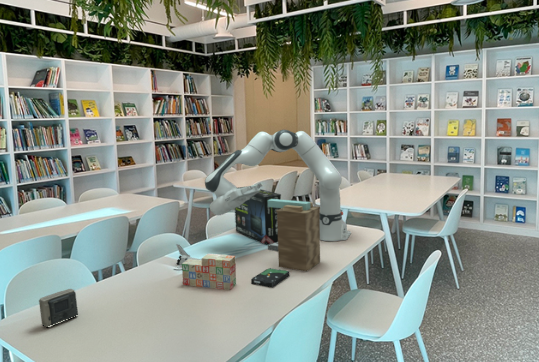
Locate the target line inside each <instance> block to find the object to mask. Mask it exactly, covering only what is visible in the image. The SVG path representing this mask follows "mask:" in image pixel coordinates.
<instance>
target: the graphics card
mask: <svg viewBox="0 0 539 362" xmlns="http://www.w3.org/2000/svg"><path fill="white" fill-rule="evenodd" d="M267 250H268V251H269V250H270V251H275V252H278V242H277V243H273V244H267Z"/></svg>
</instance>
